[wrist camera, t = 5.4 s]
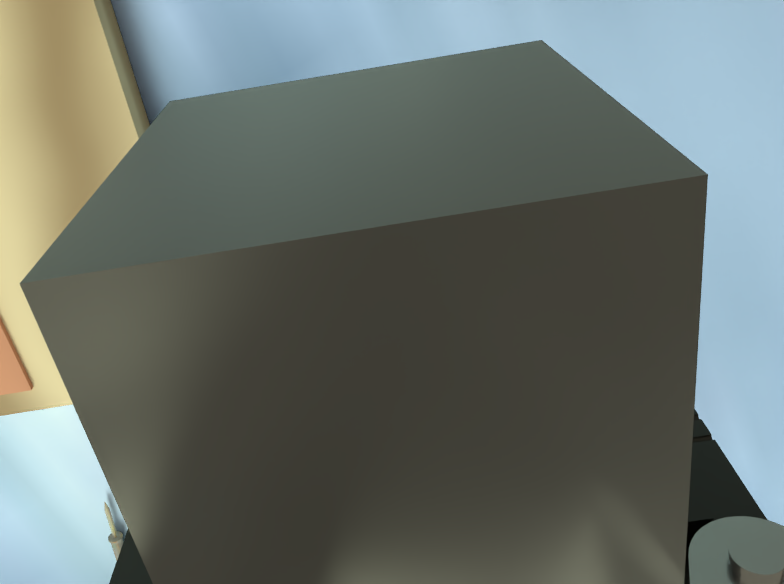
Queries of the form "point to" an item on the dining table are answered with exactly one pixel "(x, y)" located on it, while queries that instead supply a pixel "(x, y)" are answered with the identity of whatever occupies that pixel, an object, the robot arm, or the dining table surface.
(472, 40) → the dining table surface
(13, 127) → the board
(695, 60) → the dining table surface
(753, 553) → the robot arm
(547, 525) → the block
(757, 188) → the dining table surface
